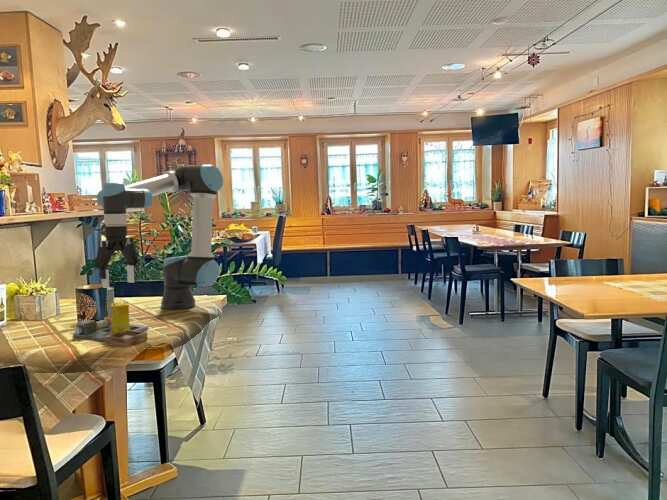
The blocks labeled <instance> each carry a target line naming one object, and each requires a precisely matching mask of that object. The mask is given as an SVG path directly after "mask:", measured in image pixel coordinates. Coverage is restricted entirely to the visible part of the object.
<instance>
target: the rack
mask: <svg viewBox="0 0 667 500" xmlns="http://www.w3.org/2000/svg"><path fill="white" fill-rule="evenodd" d="M147 340H148V332H146V331H142V332H140V331H133V329H130V330H124V331H121V332H118V333H114V334H111V335H108V336H105V342H104V343H105V345H110V344H111V345H110V346H116V345H118V346H117V347H122V346H124V347H123V348H128V347H130V345H131V346H133V345H136V344H139V343H142V342H145V341H147ZM127 346H128V347H127Z"/></svg>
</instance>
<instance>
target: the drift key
mask: <svg viewBox="0 0 667 500" xmlns="http://www.w3.org/2000/svg"><path fill="white" fill-rule="evenodd" d="M96 325H97V328H101V327H104V326H111V325H112V318H111V317H104V320H99V321H96ZM83 332H84V330H83V326H79V327H77V326H75V327H74V333H77V334H80V333H83Z"/></svg>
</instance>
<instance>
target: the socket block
mask: <svg viewBox="0 0 667 500" xmlns="http://www.w3.org/2000/svg"><path fill="white" fill-rule="evenodd" d="M96 322H97V321H95V320H91V319H86V320H82V321H79V322H78V321H77V322H76V327H79V326H83V330H84V332H83V333H80V334H77V333H75V332H73V333H72V336H73V337H74V338H79V337H80V338H81V339H85V338H86V339H87V340H91V339H93V341H98V340H100V341H99V342H104V341H105V336H108V335H111V334H114V333H113V329H112V325H111V326H104V327H101V328H97V325H96ZM130 330H133V331H140V332H146V331H148V330H149V326H146V325H138V324H133V323H132V324H131V323H130ZM86 339H85V340H86Z"/></svg>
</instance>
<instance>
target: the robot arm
mask: <svg viewBox="0 0 667 500" xmlns="http://www.w3.org/2000/svg"><path fill="white" fill-rule="evenodd" d="M223 183H224V178H223V174H222V172H221V171H220V169H219V168H218V166H215V165H213V164H194V165H192V164H190V165H183V166H179V167H176V168H173V169H170V170H167V171H164V172H163V173H162V174H161V175H158V176H154V177H150V178H147V179H143V180H140V181H136V182H132V183H128V184H125V183H123V182H104V183H103V185H102V189H101V190H99V191H98V192H97V195H96V201H97V203H98V205H99V206H100V207H101V208H103V221H104V222H103V224H104V225H105V227H104V236H105V240H104V241H103V240H99V241H98V249H97V254H96V259H95V262H94V263H95V264H94V269H97V270H99V276H100V277H99V278H100V279H101V287H103V288H109V287H110V275H109V269H107V268H108V266H109V264H110V262H111V260H112V257H113V255H114V254H116V252H118V251H119V252H120V253H121V254H122V256H123V258H124V259H125V261H126V262H127V265H126V274H127V275H126V276H127V283H130V284H131V283H133V284H134V283H135V273H136V266H137V265H138V263H140V260H139V256H138V253H137V251H136V247H135V245H134V244H135V243H134V238H128V237H127V235H128V226H127V223H128V222H127V210H128V209H129V210H130V209H131V210H132V209H133V210H134V209H148V208H150V207H151V206H152V204H153V201H154V199H153V197H155V196H158V195H162V194H165V193H167V192H168V193H175V192H189V195H190V196H191V197H192V199H193V203H192V204H193V205H192V224H191V225H192V227H191V248H190V249H191V252H189V253H188V254H187V255H180V256H172V257H167V258H165V259H164V260H163V265H162V266H163V267H162V269H163V285H164V291H163V295H162V298H161V302H160V306H161V309H164V310H184V309H189V308H193V307H195V306H196V298H195V297H194V293H193V291H192V286H196V287H197V286H198V287H210V286H212V285H214V284H215V283H216V281H217V280H218V278H219V275H220V265H219V263H218V262H217V261H215V255H214V254H213V253H212V242H213V241H212V240H213V239H212V238H213V237H212V236H213V235H212V234H213V217H214V215H213V214H214V212H213V211H214V199H215V198H216V197H217V196H218V191H220V190H221V189H222V187H223V185H224V184H223Z"/></svg>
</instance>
